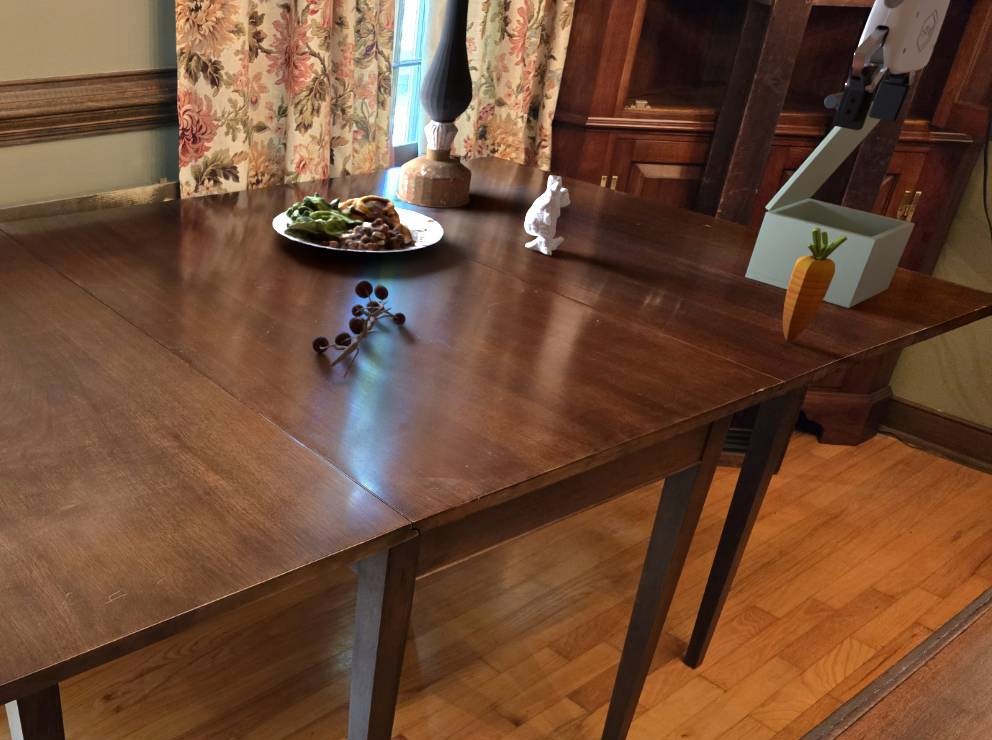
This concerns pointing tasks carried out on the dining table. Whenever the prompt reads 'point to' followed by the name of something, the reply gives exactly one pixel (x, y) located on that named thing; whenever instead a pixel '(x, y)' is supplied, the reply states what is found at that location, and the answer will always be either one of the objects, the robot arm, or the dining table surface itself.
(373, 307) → the decorative branch
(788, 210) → the grey-green storage box
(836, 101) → the box lid
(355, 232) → the plate of food
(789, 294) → the carrot
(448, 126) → the oil lamp
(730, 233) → the dining table surface
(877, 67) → the robot arm
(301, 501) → the dining table surface
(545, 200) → the white kangaroo figurine
